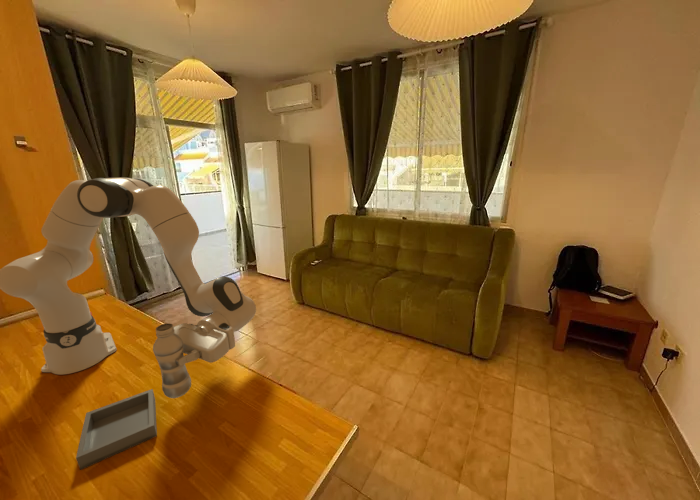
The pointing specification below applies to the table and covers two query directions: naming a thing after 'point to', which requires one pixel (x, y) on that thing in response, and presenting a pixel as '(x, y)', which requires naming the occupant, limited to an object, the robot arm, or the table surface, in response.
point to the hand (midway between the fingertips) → (167, 359)
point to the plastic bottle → (171, 361)
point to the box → (117, 428)
